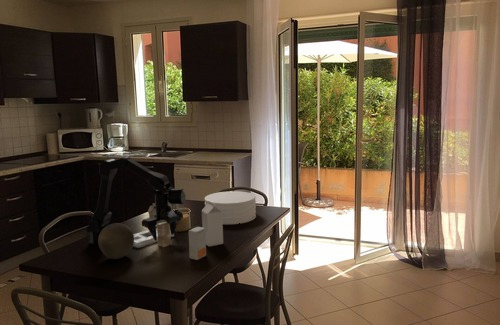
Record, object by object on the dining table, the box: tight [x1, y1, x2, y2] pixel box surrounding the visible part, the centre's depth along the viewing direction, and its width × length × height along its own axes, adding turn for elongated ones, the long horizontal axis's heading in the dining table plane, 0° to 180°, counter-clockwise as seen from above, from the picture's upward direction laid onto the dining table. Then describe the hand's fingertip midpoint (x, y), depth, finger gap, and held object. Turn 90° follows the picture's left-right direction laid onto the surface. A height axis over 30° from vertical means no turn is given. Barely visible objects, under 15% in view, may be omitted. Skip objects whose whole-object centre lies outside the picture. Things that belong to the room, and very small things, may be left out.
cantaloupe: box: [98, 222, 134, 260], centre depth 162 cm, size 14×14×15 cm
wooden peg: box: [156, 222, 172, 248], centre depth 177 cm, size 4×4×10 cm
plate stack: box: [204, 190, 257, 225], centre depth 219 cm, size 28×28×12 cm
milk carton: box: [201, 201, 224, 247], centre depth 177 cm, size 7×7×19 cm
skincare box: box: [188, 226, 207, 261], centre depth 162 cm, size 6×4×12 cm
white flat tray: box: [132, 229, 175, 249], centre depth 186 cm, size 20×12×3 cm, turn 138°
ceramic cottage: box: [147, 202, 180, 223], centre depth 220 cm, size 16×16×15 cm
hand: (164, 237), depth 178 cm, fingers open, 9 cm apart
